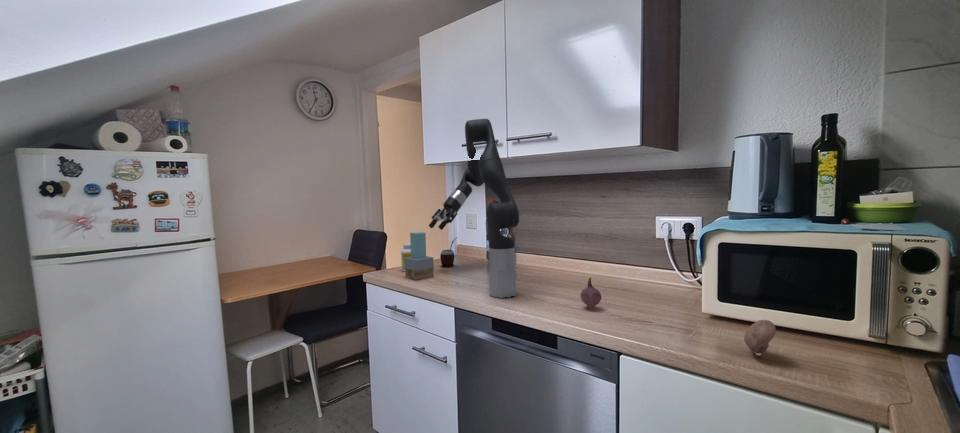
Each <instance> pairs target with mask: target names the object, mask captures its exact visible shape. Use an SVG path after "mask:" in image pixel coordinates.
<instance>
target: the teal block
mask: <svg viewBox="0 0 960 433" xmlns="http://www.w3.org/2000/svg"><path fill="white" fill-rule="evenodd" d="M426 236H427V234H426V232H424V231H416V232H410V233H409V237H410V238H409V239H410V240H409V241H410V243H411V258H414V259H421V258H426V256H427V240H426V239H427V237H426Z"/></svg>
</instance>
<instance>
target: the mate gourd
mask: <svg viewBox="0 0 960 433" xmlns="http://www.w3.org/2000/svg"><path fill="white" fill-rule="evenodd" d="M458 237H459V236H456V237H455V238H454V239H453V240H451V245H450V247H449V249H443V250H441V252H440V255H439V256H440V257H439V258H440V263H441V268H446V267H447V268H451V267H454V266H455V265H454V263H455V252H454V250H452V247H453V244H454V242H455V240H457V239H458Z"/></svg>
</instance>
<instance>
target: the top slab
mask: <svg viewBox="0 0 960 433" xmlns="http://www.w3.org/2000/svg"><path fill="white" fill-rule="evenodd" d="M405 268H407V269H410V270H414V271H419V270H424V269H429V268H433V269H434V257H432V256H428V255H426V258H421V259H414V258H411V257H407V258H405Z"/></svg>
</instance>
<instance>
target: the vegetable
mask: <svg viewBox="0 0 960 433" xmlns="http://www.w3.org/2000/svg"><path fill="white" fill-rule="evenodd" d="M580 299H581V301H582V302H583V304H585V305H586V306H587V307H588V306H590V307H592V308H594V307H596V306H597V305H598V304H600V303H601V301H602V294H601V292H600V291H599V290H598V289H597V288H595V287H594V286H593V284H592V277H589V278H588V280H587V287H585V288H583V289H582V290H581V292H580ZM593 306H594V307H593ZM590 307H589V308H590Z"/></svg>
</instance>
